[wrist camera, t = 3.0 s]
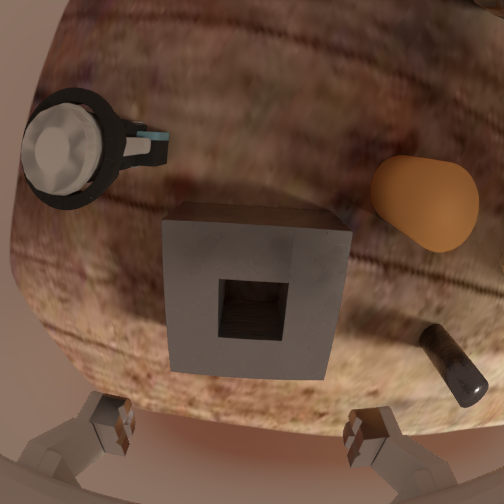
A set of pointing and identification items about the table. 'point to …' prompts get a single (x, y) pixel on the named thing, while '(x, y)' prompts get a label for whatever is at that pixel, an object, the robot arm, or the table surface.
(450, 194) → the orange rounded tapered piece
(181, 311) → the bore block
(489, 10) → the vase
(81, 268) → the table surface
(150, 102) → the table surface
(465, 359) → the cylinder
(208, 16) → the table surface
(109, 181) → the push button
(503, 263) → the valve
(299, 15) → the table surface
